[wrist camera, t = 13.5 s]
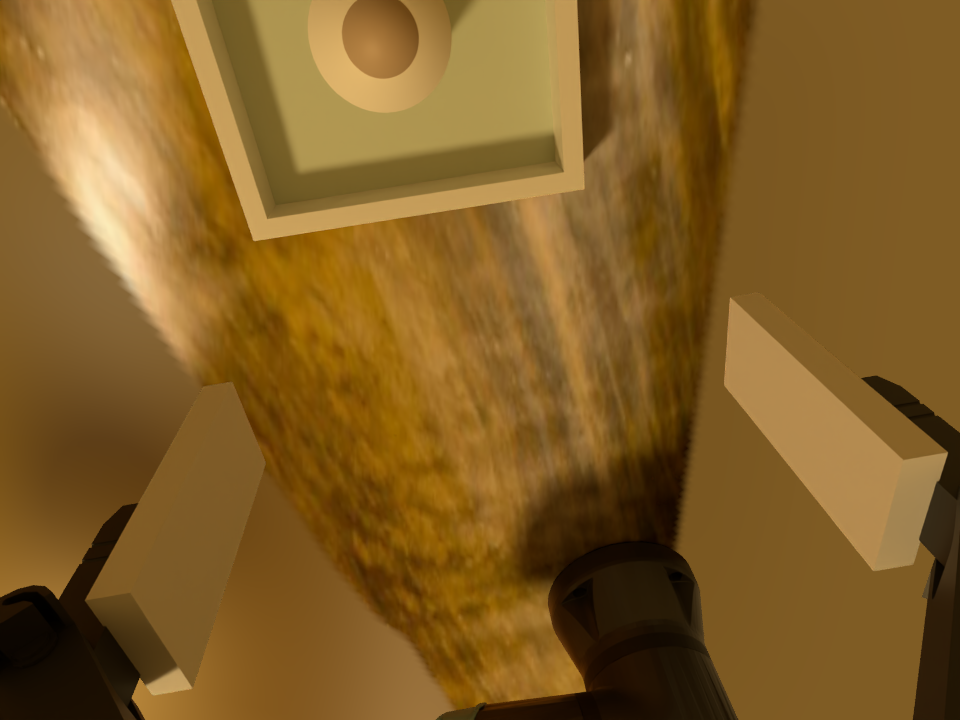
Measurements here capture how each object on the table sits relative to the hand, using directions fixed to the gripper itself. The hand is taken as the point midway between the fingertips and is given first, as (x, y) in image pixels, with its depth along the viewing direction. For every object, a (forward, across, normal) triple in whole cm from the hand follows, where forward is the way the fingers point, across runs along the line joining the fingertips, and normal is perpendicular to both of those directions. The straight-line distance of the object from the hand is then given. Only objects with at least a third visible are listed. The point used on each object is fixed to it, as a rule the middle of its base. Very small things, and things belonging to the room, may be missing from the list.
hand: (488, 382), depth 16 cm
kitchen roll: (+26, +2, -8) cm, 27 cm away
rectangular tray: (+27, +2, -8) cm, 28 cm away
